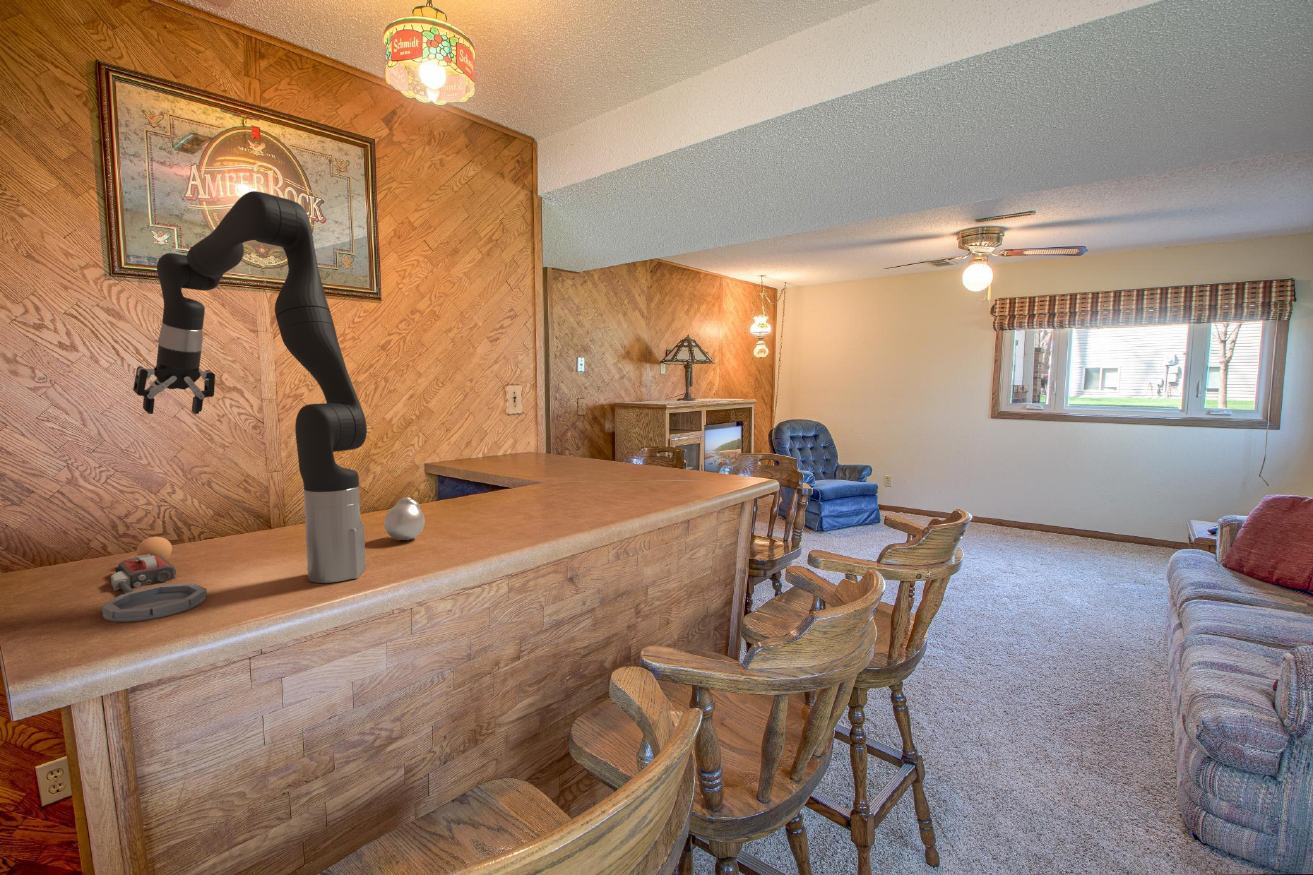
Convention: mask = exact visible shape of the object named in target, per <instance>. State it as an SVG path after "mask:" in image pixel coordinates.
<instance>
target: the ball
mask: <svg viewBox="0 0 1313 875" xmlns="http://www.w3.org/2000/svg"><path fill="white" fill-rule="evenodd" d="M172 552H173V546H172V544H171V542H170V541H169V540H168V539H166V538H165V537H162V536H151V537H147V538H145V539H144V540H142V541H141V542H140V543H139V545H138V546H137V548H136V557H137V556H143V555H149V554H150V556H151V555H155V556H161V557H162V558H164V559H165V560H166V561H167V559H168V558H170V556H171V555H172Z"/></svg>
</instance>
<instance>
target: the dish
mask: <svg viewBox="0 0 1313 875" xmlns="http://www.w3.org/2000/svg"><path fill="white" fill-rule="evenodd" d="M207 593H208V592H207V588H206V587H204V586H201V585H199V584H197V583H190V582H189V583H175V584H163V585H156V586H150V587H146V588H143V589H139V590H133V592H129V593H124V594H122V593H121V594H120V595H118V596H116V597H114V598H112V599H110V600H109V601H107V602H105V603H102V605H101V612H102V618H103V619H104V620H106V621H108V622H113V623H133V622H143V621H149V620H155V619H160V618H161V619H162V618H165V617H169V616H173V615H177V614H181V613H184V612H186V611H189V610H191V609H194V608H196V607H197V606H200V605H201V604H203V603H204V602H205V601H206V599H207Z"/></svg>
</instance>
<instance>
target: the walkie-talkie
mask: <svg viewBox="0 0 1313 875" xmlns="http://www.w3.org/2000/svg"><path fill="white" fill-rule="evenodd" d="M176 575H177V570H176V568H175V566H174V565H173V564H171V563H170V562H169V561H168V560H167V559H166V560H165V559H164V558H162V557H161V556H155V555H151V556H150V554H149V555H143V556H137V555H136V556H135V557H134V558H128V559H125V560H122V561H120V563H118V566H117V567H115V573H114V574H112V575H110V582H111V587H112V588H113V590H114V591H120V590H119V589H121V590H122V591H123V593H124V594H125V593H129V592H133V591H134V589H133V588H140V587H143V586H147V585H152V584H158V583H165V582H167V581H173V580H172V579H174V580H175V579H176Z"/></svg>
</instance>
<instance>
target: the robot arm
mask: <svg viewBox="0 0 1313 875" xmlns="http://www.w3.org/2000/svg"><path fill="white" fill-rule="evenodd" d="M249 241H254V242H255V241H256V242H257V243H262V244H267V245H270V246H276V247H281V248H282V249H283V251H284V253H285V256H286V261H287V267H288V272H287V276H286V278H285V281H284V282H283V285H282V286H281V288H280V290H279V292H278V294H277V298H276V300H275V304H274V314H275V315H274V316H275V318H276V322H277V326H278V330H279V333H280V337H281V340H282V342H283V345H284V347H286V349H287V351H288V352H290V354H291V355H292V356H293V357H294V359H296V361H298V363H299V364H301V366H302V367H303V368H304V369H305V370H306V371H307V372H308V373H309V374H310V375H311V377H313V378H314V380H315V381H316V383H317V384H318V386H319V387H320V389H321V391H322V393H323V397H324V399H325V401H326V402H325V403H310V404H305V405H304V406H302V407H301V408H300V409H299V410H298V412H297V415H296V418H295V426H294V429H295V430H294V431H295V441H296V442H295V443H296V450H297V451H296V452H297V458H298V460H297V462H298V469H299V474H300V477H301V479H302V483H303V497H304V498H303V499H304V520H305V521H304V523H305V543H306V546H305V547H306V560H307V562H306V563H307V567H306V569H307V570H306V571H307V580H308V581H309V582H311V583H318V584H328V583H338V582H343V581H347V580H348V581H349V580H353V579H355V580H356V579H358V578H360V576H361V575H362V574H363V573H364V571H365V570H366V546H365V542H366V541H365V524H364V523H365V522H363V521H361V504H360V503H361V502H360V501H361V500H360V477H359V473H358V472H357V471H356V470H354V469H350V468H347V467H342V466H341V465H339V464H337V462H336V459H335V456H334V455H335V454H334V453H335V452H343V451H351V450H356V449H359V448H361V447H362V446H363V445H364V444H365V442H366V440H367V434H368V426H367V420H366V416H365V413H364V411H363V408H362V405H361V403H360V400H359V397H358V395H357V392H356V390H355V388H354V387H355V386H354V385H353V382H352V380H351V377H350V375H349V373H348V369H347V367H346V363H345V360H344V357H343V354H342V353H343V352H342V350H341V347H340V343H339V339H338V336H337V332H336V327H335V324H334V320H333V317H332V313H331V310H330V306H329V303H328V300H327V297H326V293H325V289H324V286H323V282H322V278H321V275H320V270H319V265H318V261H317V260H318V259H317V255H316V248H315V243H314V236H313V231H312V226H311V222H310V219H309V215H308V213H307V211H306V209H305V208H304V207H303V206H302V205H301V204H300V203H298V202H297V201H294V200H292V199H289V198H284V197H281V196H277V195H273V194H270V193H267V192H266V193H265V192H261V191H254V190H253V191H249V192H246V193H245V194H243V195H242V196H241V197H240V198H238V200H237V201H236V202H235V203H234V204H233V205H232V207H231V208H229V210H228V212H227V213H226V214H225V216H224V217H223V218H222V219H221V221H220V222H219V223H218V225H217V226H216V227H215V228H214V230H213V231H212V232H210V233H209V234H208V235H207V236H205V237H204V238H202V239H201V240H200V241H198V242H197V243H195V244H194V245H192V246H191V247H190V248H189V249H188V251H187V253H186V254H180V253H176V252H175V253H173V252H168V253H165V254H163V255H161V256H160V257H159V259H158V260H157V264H156V271H157V273H156V274H157V276H158V281H159V284H160V288H161V293H162V299H163V300H162V301H163V313H162V319H161V320H162V321H161V322H162V323H161V327H160V329H159V336H158V339H157V341H158V347H157V354H156V365H155V367H154V368H145V367H143V366H141V365H139V366H137V367H136V370H135V371H136V372H135V375H134V376H135V377H134V383H133V388H132V391H133V392H134V393H135V394H137V396H142V397H143V399H142V402H143V403H142V408H143V410H144V411H145V412H146V413H147V414H148V415H153V414H154V409H155V407H154V406H155V397H156V396H157V395H158V394H160V393H162V392H164V390H165V389H168V390H176V389H179V390H186V389H189V390H190V391H191V392H192V393H193V394H194V396H192V402H191V403H192V405H191V412H192V413H193V414H194V415H199V414H200V412H202V411H203V404H204V399H206V398H213V397H214V396H215V388H216V387H215V384H216V374H215V373H214V372H213V371H211V370H210V369H206V370H205V371H204V370H203V371H200V365H201V358H202V348H203V340H204V338H203V336H204V335H203V332H204V331H203V328H204V321H205V311H206V309H205V306H204V304H203V303H202V302H200V301H198V300H195V299H192V298H189V297H186V296H185V295H184V294H183V291H182V290H183V289H187V290H197V291H201V292H203V291H205V292H207V291H211V290H215V289H216V288H217V287H218V285H219V284H220V281H221V280H222V277H223V275H224V274H225V273H227V272H229V271H231V270H232V269H233V268H235V267H237V265H239V264H240V263H241V262H242V260H243V258H244V254H245V249H244V244H243V243H246V242H249ZM152 375H154V377H155V379H153V381H152V382H151V383H150V385H149V386H148V387H147V388H146V386H147V385H146V383H147V380H148V379H151V376H152ZM200 378H201V379H202V380H204V381H203V383H204V384H203V390H201V389H200V388H199V387H198V385H196V382H197V381H198V380H199V379H200Z"/></svg>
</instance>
